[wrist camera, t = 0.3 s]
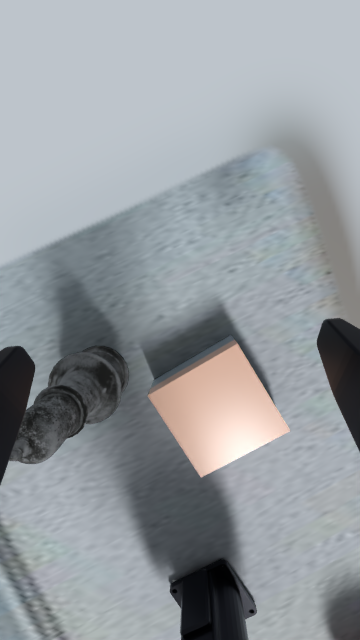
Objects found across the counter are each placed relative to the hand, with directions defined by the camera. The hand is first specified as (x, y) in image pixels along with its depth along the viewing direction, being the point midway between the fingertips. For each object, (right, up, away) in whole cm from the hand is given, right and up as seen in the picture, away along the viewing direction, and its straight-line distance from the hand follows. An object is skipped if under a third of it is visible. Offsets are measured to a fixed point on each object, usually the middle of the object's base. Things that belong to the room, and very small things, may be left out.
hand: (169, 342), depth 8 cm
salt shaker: (-7, -4, +16) cm, 18 cm away
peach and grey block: (+4, -6, +16) cm, 17 cm away
